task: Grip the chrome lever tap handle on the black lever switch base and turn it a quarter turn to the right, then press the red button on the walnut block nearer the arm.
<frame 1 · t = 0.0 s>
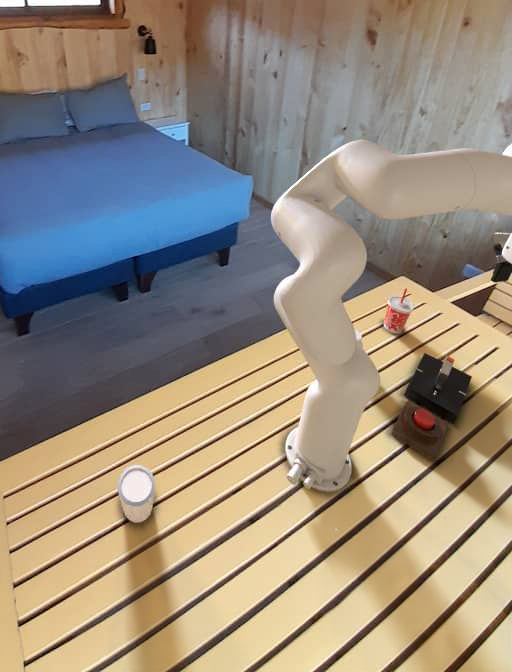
white lidded tub: (137, 505, 76), on the table
beverage cup: (392, 327, 113), on the table
button block: (418, 430, 87), on the table
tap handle: (444, 373, 93), point 6 cm above the table, hinge at 0.0°
button: (424, 419, 85), point 4 cm above the table, slide at 0.1 cm
black lever switch base: (436, 390, 96), on the table
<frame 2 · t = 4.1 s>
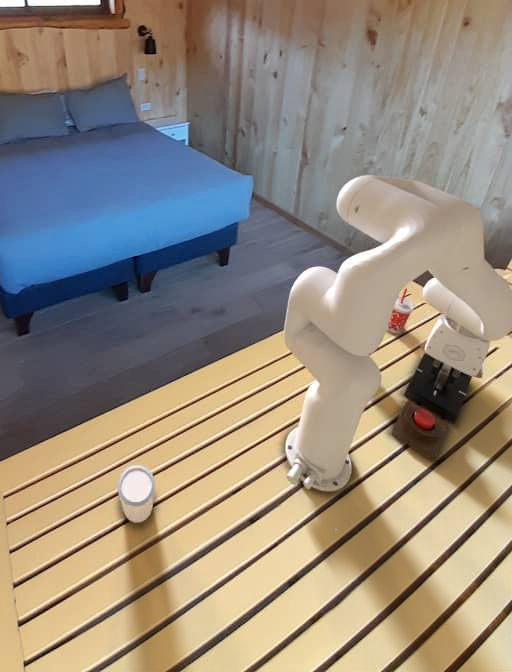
hand: (441, 379, 94), 4 cm above the table, tool pointing down, fingers closed on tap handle
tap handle: (444, 373, 93), point 6 cm above the table, hinge at 0.0°, touching gripper
everything else where it was.
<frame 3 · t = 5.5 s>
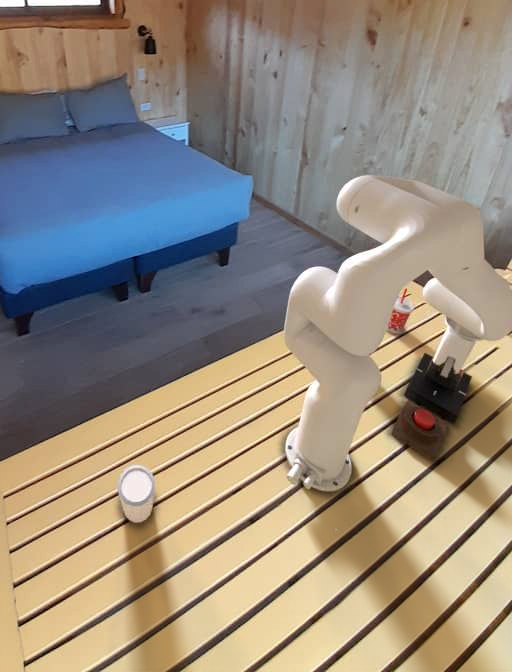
hand: (441, 379, 94), 4 cm above the table, tool pointing down, fingers closed on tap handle
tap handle: (444, 373, 93), point 6 cm above the table, hinge at -90.0°, touching gripper
everything else where it was.
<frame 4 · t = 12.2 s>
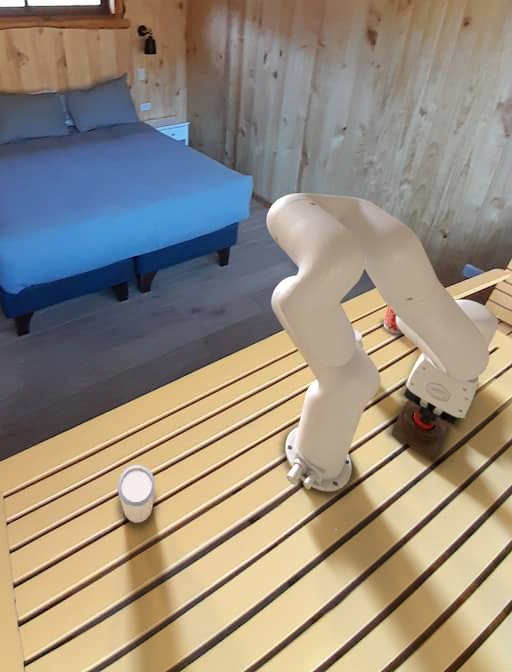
hand: (425, 418, 85), 4 cm above the table, tool pointing down, fingers closed
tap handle: (444, 373, 93), point 6 cm above the table, hinge at -90.0°
button: (423, 421, 86), point 3 cm above the table, slide at -0.5 cm, touching gripper
everything else where it was.
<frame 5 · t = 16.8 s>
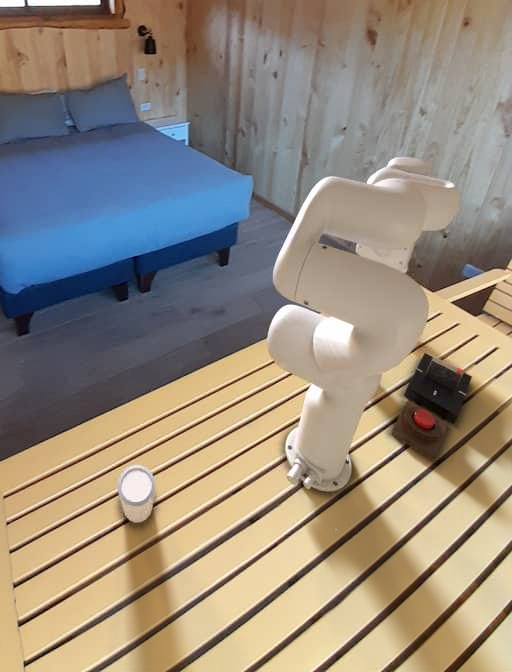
hand: (374, 283, 93), 25 cm above the table, tool pointing down, fingers closed
button: (423, 419, 85), point 4 cm above the table, slide at 0.1 cm
everything else where it was.
at the end: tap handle at -90° (first picture: +0°); button pushed in 1.1 cm at the most during the clip, back to where it started at the end; button slide at 0.1 cm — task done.
